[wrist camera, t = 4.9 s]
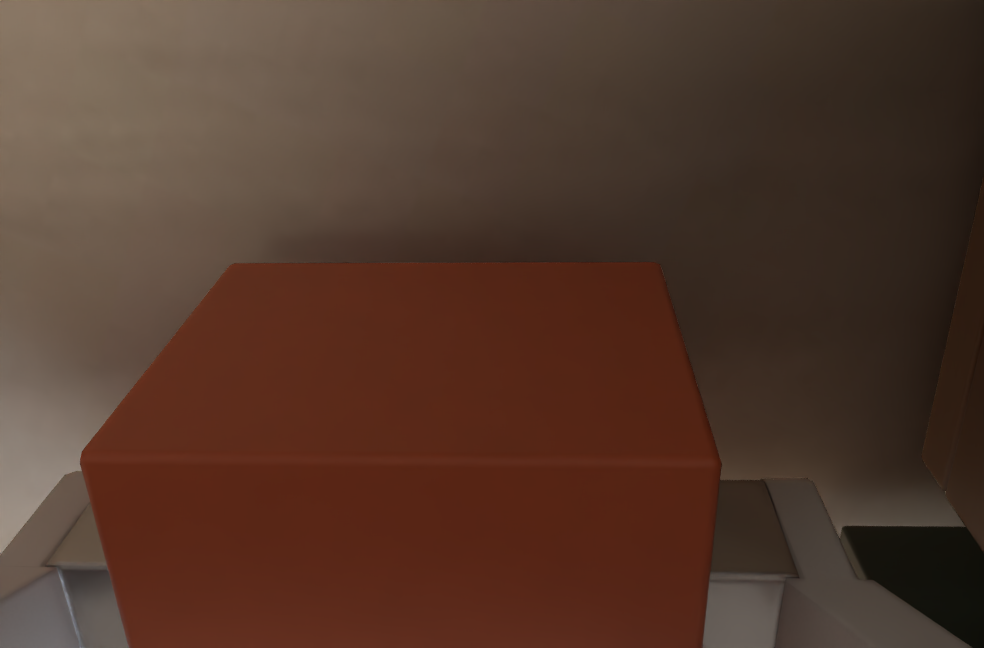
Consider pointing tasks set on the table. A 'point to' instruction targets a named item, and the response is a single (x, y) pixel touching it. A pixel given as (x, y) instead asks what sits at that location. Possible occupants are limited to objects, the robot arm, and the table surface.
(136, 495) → the block
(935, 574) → the drawer
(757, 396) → the table surface
